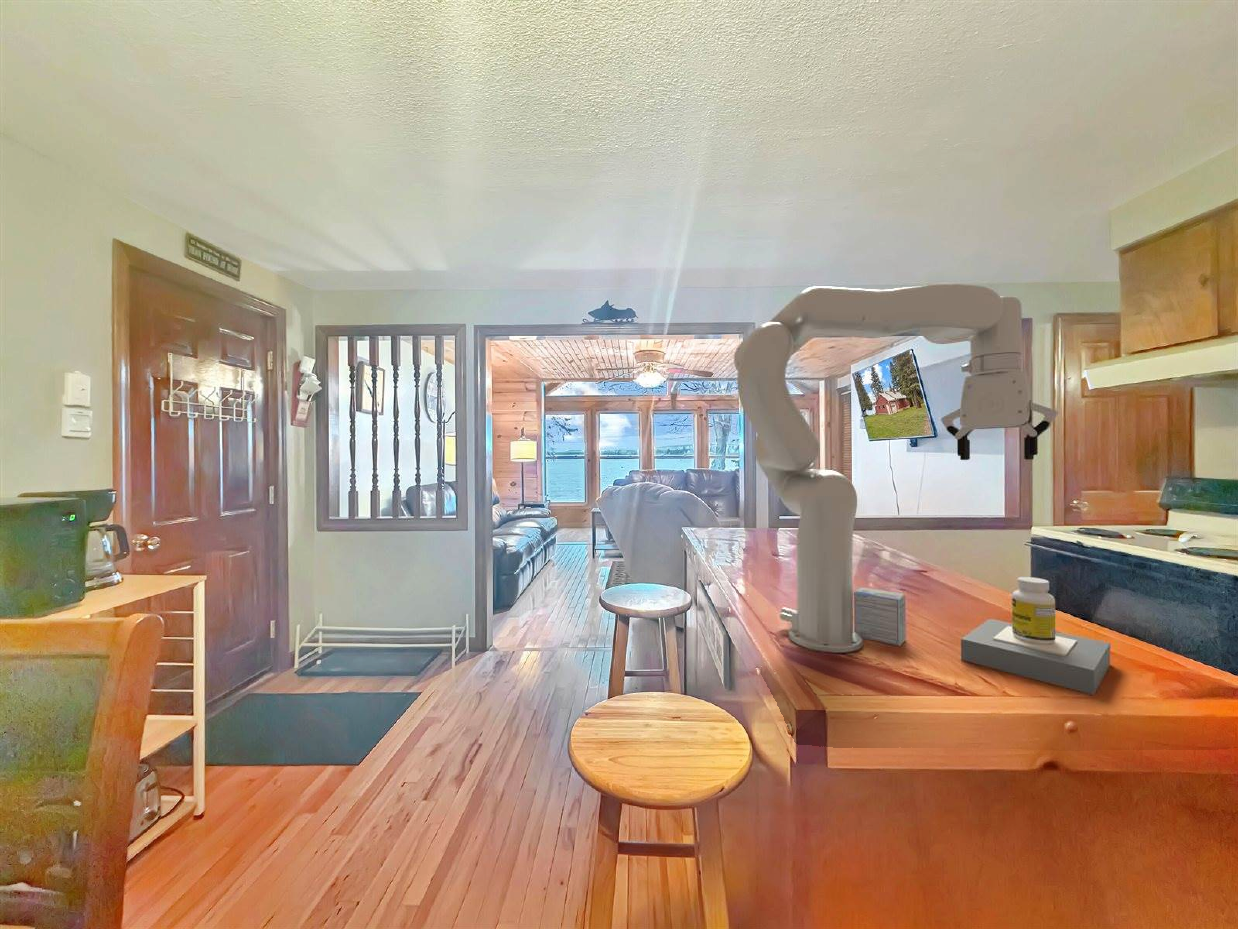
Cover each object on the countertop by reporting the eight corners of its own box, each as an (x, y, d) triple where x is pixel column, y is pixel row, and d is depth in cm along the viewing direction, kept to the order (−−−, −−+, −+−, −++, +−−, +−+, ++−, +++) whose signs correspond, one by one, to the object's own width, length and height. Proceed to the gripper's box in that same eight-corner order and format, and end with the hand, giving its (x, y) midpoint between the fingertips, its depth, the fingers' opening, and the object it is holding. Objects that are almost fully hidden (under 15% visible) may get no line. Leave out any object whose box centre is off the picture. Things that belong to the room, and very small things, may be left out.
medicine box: (906, 640, 90) (906, 593, 90) (900, 647, 87) (900, 598, 87) (860, 630, 96) (860, 586, 96) (853, 636, 93) (853, 591, 93)
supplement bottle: (1004, 632, 83) (1004, 575, 83) (1039, 634, 83) (1039, 576, 82) (1026, 644, 78) (1026, 583, 78) (1064, 646, 77) (1064, 584, 77)
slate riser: (961, 659, 81) (961, 637, 81) (989, 637, 92) (989, 617, 91) (1094, 695, 69) (1094, 668, 69) (1110, 664, 79) (1110, 641, 79)
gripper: (935, 371, 95) (935, 460, 95) (1052, 356, 81) (1052, 459, 81) (948, 375, 99) (949, 460, 100) (1061, 362, 86) (1062, 459, 86)
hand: (995, 459), depth 90 cm, fingers open, 9 cm apart
